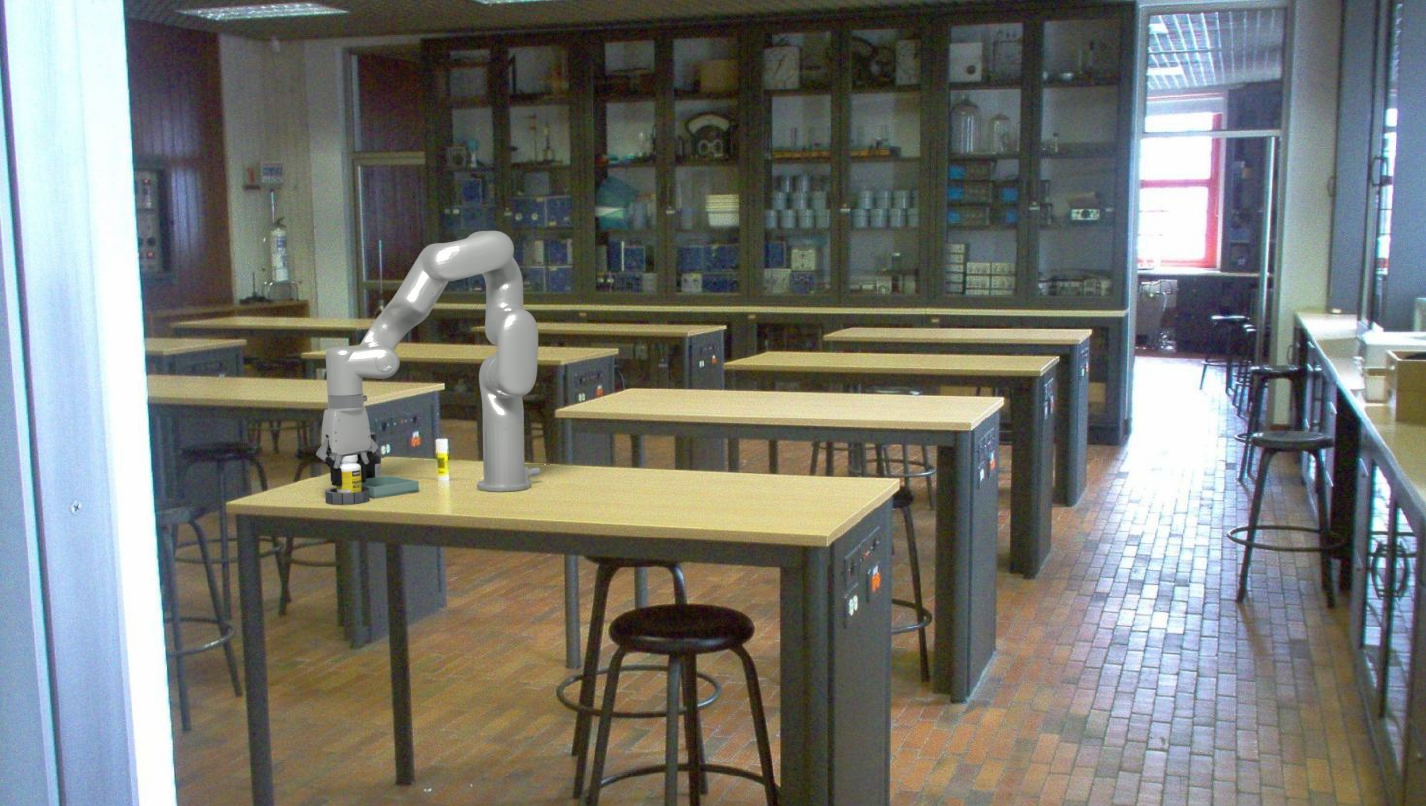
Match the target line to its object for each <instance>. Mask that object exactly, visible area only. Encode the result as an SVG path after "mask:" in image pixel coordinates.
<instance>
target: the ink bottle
mask: <svg viewBox="0 0 1426 806" xmlns="http://www.w3.org/2000/svg"><path fill="white" fill-rule="evenodd" d="M370 435H371V438H372V439H373V441H374V442H375V443H376V444H377V433H376V432H373V431H370ZM352 454H354V453H352ZM357 463H358V462H357ZM366 470H367V477H366V479H367V478H374V477H382V476H383V475H382V457H381V454H380V453H378V452H377V450H376V451H375V452H374V453H373V455H372V456H371V458H370V459H369V462H368V464H366Z"/></svg>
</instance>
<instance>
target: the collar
mask: <svg viewBox="0 0 1426 806" xmlns="http://www.w3.org/2000/svg"><path fill="white" fill-rule="evenodd" d="M324 491H325V493H324V494H325V495H324V496H325V499H324V501H325V503H326V504H328V505H335V506H336V505H337V506H347V505H348V506H349V505H350V506H351V505H359V504H364V503H367V502H370V501H371V498H370V492H369V488H367V487H362V491H359V492H350V493H337V486H335V487H331V488H330V487H329V488H327V489H324Z"/></svg>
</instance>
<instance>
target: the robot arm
mask: <svg viewBox="0 0 1426 806" xmlns="http://www.w3.org/2000/svg"><path fill="white" fill-rule="evenodd" d="M514 254H515V247H514V242H513V241H512V238H510V236H508V234H506V233H504V232H502V231H498V230H481V231H476V232H472V233H471V234H469V235H468V237H467V238H463V239H459V240H455V241H449V242H439V243H431V244H428V245H427V246H426V247H424V248H423V249H422V250H421V251H420V254H419V255H418V257H417V258H416V259H415V261H414V263H413V265H412V266H411V268H410V270H409V271H408V273H407V275H406V276H405V277H404V280H403V281H402V284H401V285H400V286H399V288H398V289H397V292H396V293H395V294H394V295H393V297H392V299H391V300H390V301H389V302H388V303H387V305H386V306H385V307H384V309H383V310H382V312H381V313H379V315H378V316H377V317H376V318H375V320H374V322H372V324H371V325H370V327H369V328H368V331H367V332H366V334H365V336H364V337H363V339H362V340H361V342H360V344H359V346H358V347H357V346H350V345H349V346H348V345H347V346H343V345H341V346H333V347H330V348H328V349H326V352H325V368H326V369H325V370H326V371H325V372H326V387H327V388H326V391H327V409H324V411H323V415H322V416H323V419H322V423H321V425H322V426H321V445H320V447H319V448H318V449H317V451H316V453H315V455H316V456H317V458H319V459H320V460H322V462H323V463H324V464H325V465H327V467H328V468H329V470H330V472H329V473H330V482H331V485H332V486H335V487H337V486H341V485H342V470H341V468H339V464H340V460H341V456H342V455H344V454H352V453H354V454H357V458H358V461H357V462H358V463H357V464H359V465H360V466H361V480H362V482H366V477H367V470H366V464H368V462H369V459H370V458H371V456H372V455H373V453H374V452H375V451H376V452H377V450H378V449H379V445H378V443H377V442H376V443H375V442H374V441H373V439H372V438H371V435H370V432H371V428H370V426H371V425H370V421H369V416H368V411H367V408H366V407H365V406H364V405H365V404H364V402H368V396H367V395H366V394H365V395H364V393H363V392H364V390H363V379H366V378H367V379H379V380H381V379H388V378H390V377H392V376H394V375H395V374H396V373H397V372H398V370H399V368H400V357H399V355H398V352H396V348H397V347H398V345H399V343H400V342H401V341H402V339H403V338H404V337H405V336H406V334H407V333H408V332H410V331H411V330H412V329H413V328H415V327H416V326H418V325H419V324H421V323H422V322H423V321H425V320H426V318H427V317H428V316H429V315H430V313H431V312H432V310H433V308H434V306H435V305H436V302H437V301H438V300H439V298H440V297H441V294H442V293H443V292H444V289H445V288H446V287H447V285H448V283H449V282H454V281H458V280H459V281H460V280H464V279H467V278H470V277H474V276H478V275H482V276H483V279H484V283H485V290H486V291H485V294H486V296H485V297H486V299H485V300H486V301H485V302H486V303H485V318H484V319H485V323H484V332H485V337H486V339H487V340H488V341H489V342H490V343H491V344H492V345H494V346H496V347H497V352H496V353H494V354H492V355H489V356H488V357H487V358H485V360H483V362H482V364H481V365H480V368H479V372H478V373H479V374H478V380H479V389H480V395H481V404H482V405H481V408H482V457H483V458H482V460H483V462H482V463H483V480H480V481H478V482H477V483H476V487H477V488H476V489H479V490H480V491H481V490H482V491H487V492H515V491H516V492H517V491H521V490H527V489H530V488H531V487H532V481H531V480H529V478H531V477H536V476H540V475H541V469H540V468H539V467H538V466H537V467H531V468H529V467H528V466H525V427H524V425H525V423H524V422H525V417H524V415H525V414H524V413H525V411H524V402H523V396H525V395H527V394H529V393H530V392H531V391H532V390H533V388H534V386H535V384H536V380H537V374H538V362H539V361H538V357H539V355H538V353H539V352H538V351H539V328H538V325H537V322H536V319H535V317H534V316H533V315H532V313H530V312H529V311H527V310H526V309H525V308H524V283H523V282H524V281H523V275H522V272H521V269H520V266H519V264H518V262H517V261H516V259H515V258H514ZM328 455H329V456H328Z"/></svg>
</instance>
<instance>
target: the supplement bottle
mask: <svg viewBox="0 0 1426 806" xmlns="http://www.w3.org/2000/svg"><path fill="white" fill-rule="evenodd" d="M357 461H358V458H357V454H344V455H342V456H341V460H340V464H339V468H341V470H342V485H341V486H336V487H337V493H350V492H359V491H362V480H361V466H360V465H359V464H357Z"/></svg>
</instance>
